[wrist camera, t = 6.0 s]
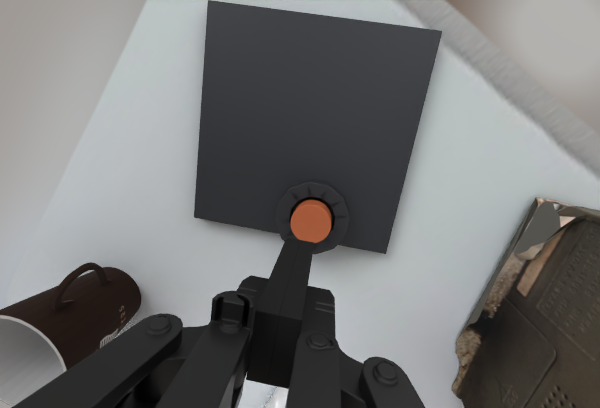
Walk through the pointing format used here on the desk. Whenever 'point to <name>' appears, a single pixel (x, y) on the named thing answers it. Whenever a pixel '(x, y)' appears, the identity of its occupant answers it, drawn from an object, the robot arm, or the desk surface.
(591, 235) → the radio
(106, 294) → the coffee mug
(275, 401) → the sitting furry creature
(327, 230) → the button
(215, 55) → the scale
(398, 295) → the desk surface
